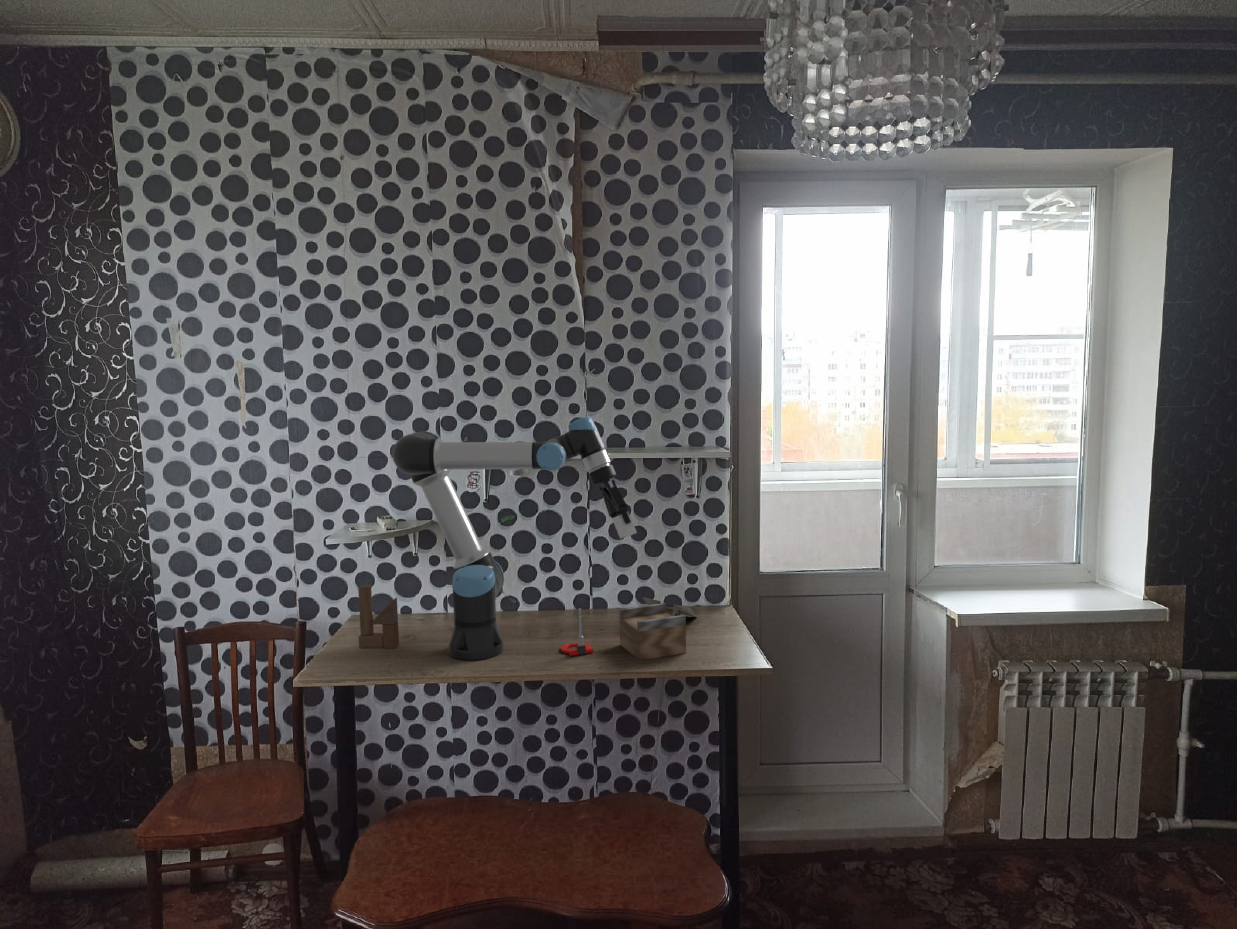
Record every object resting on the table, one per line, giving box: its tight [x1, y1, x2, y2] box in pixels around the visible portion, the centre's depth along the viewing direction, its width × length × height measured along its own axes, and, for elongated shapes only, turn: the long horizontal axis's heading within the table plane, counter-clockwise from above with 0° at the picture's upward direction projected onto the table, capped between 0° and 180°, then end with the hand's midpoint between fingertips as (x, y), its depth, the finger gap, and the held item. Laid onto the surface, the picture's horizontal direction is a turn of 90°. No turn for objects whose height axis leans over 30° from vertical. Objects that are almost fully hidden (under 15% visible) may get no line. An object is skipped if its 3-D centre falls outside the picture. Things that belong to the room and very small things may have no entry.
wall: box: [641, 596, 698, 618], centre depth 245 cm, size 16×9×15 cm
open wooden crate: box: [619, 602, 687, 661], centre depth 221 cm, size 14×14×10 cm
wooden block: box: [357, 584, 400, 649], centre depth 227 cm, size 4×11×18 cm, turn 86°
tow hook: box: [560, 608, 594, 657], centre depth 221 cm, size 8×13×9 cm
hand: (628, 536), depth 228 cm, fingers open, 13 cm apart
